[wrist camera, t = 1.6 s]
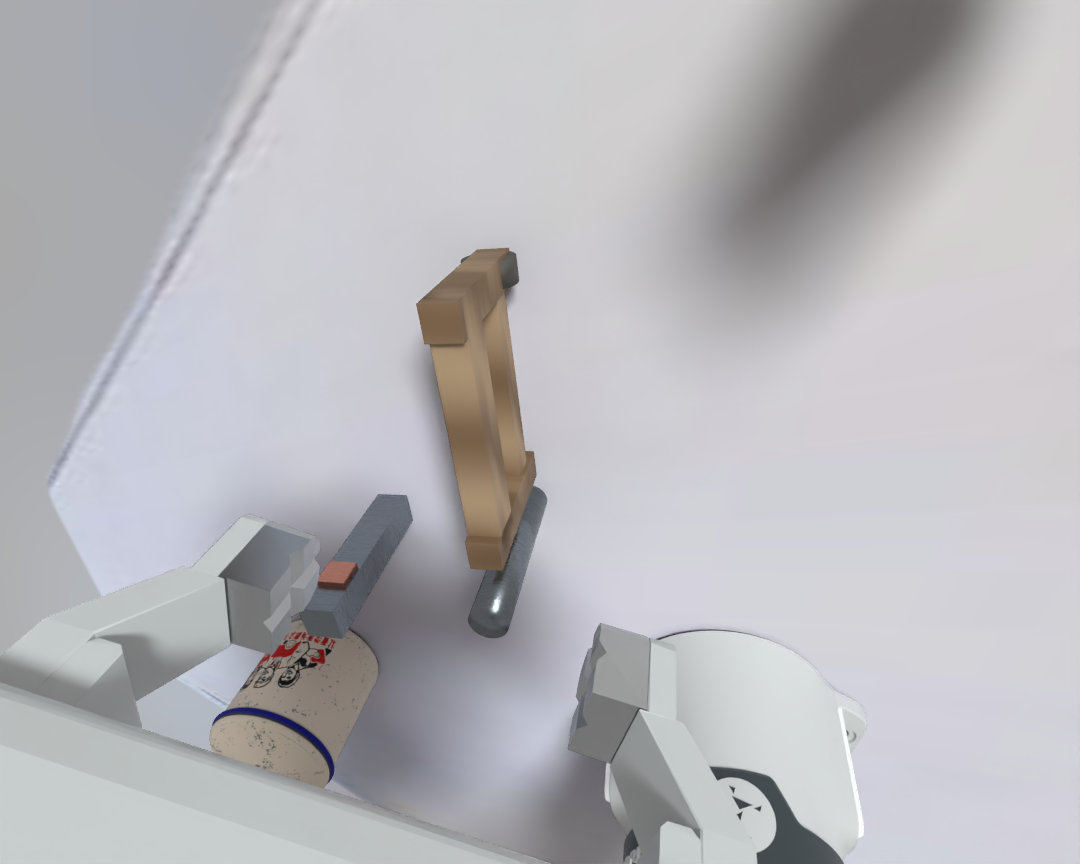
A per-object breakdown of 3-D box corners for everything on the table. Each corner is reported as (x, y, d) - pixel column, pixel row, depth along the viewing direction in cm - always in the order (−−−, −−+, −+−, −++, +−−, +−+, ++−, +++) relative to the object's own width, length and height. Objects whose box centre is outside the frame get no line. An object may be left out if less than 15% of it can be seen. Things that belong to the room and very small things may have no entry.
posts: (550, 526, 38) (513, 655, 30) (385, 518, 41) (308, 635, 32) (545, 486, 37) (505, 609, 28) (374, 480, 39) (291, 593, 31)
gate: (546, 471, 36) (513, 571, 28) (503, 470, 36) (460, 567, 29) (520, 245, 29) (470, 301, 22) (469, 248, 30) (403, 304, 23)
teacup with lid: (342, 604, 46) (252, 749, 36) (403, 683, 50) (336, 833, 40) (232, 630, 51) (125, 764, 41) (295, 700, 54) (211, 839, 44)
